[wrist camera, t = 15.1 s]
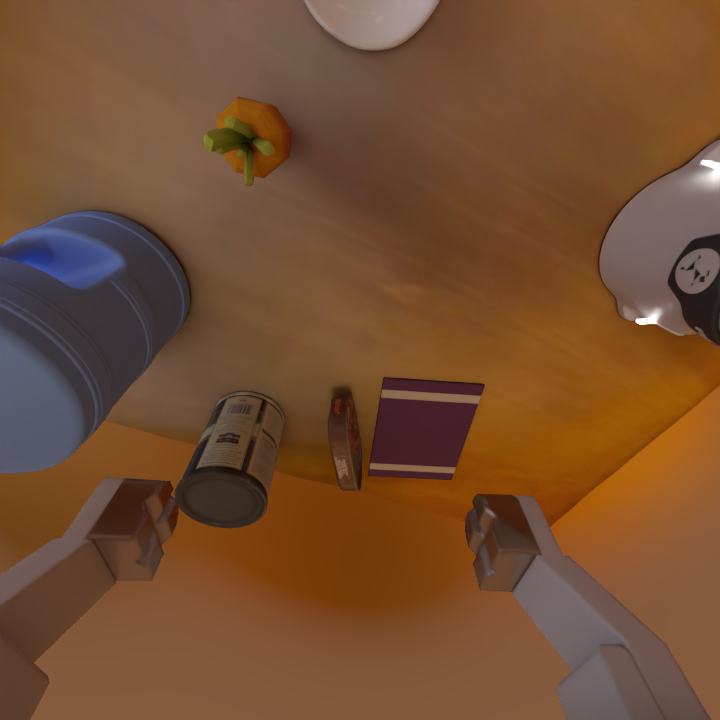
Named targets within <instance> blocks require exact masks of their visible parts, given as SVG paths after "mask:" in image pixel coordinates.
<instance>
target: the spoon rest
mask: <svg viewBox="0 0 720 720" xmlns="http://www.w3.org/2000/svg"><path fill="white" fill-rule="evenodd" d="M303 1H304V2H305V4H306V6H307V8H308V10H309V11H310V13H311V14H312V16H313V17H314V18H315V20H316V21H317V22H318V23H319V24H320V25H321V26H322V27H323V28H324V29H325V30H326V31H327V32H328V33H329V34H331V35H332V36H333V37H335V38H336V39H338V40H339V41H341V42H343V43H345V44H346V45H348V46H351V47H354V48H356V49H361V50H367V51H379V50H387V49H391V48H394V47H396V46H398V45H400V44H402V43H404V42H405V41H407V40H408V39H410V38H411V37H412V36H413V35H414V34H415V33H416V32H417V31H418V30H419V29H420V28H421V27H422V26H423V25H424V24H425V23H426V21H427V20H428V19H429V17H430V16H431V15H432V13H433V12H434V10H435V8H436V7H437V5H438V4H439V2H440V0H303Z"/></svg>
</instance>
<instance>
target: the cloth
mask: <svg viewBox="0 0 720 720" xmlns="http://www.w3.org/2000/svg"><path fill="white" fill-rule="evenodd" d="M483 389H484V384H475V383H460V382H445V381H430V380H415V379H400V378H385V377H384V378H383V384H382V391H381V397H380V403H379V410H378V416H377V422H376V428H375V435H374V441H373V447H372V454H371V460H370V466H369V472H368V476H380V477H401V478H421V479H441V480H451V479H452V476H453V474H454V472H455V469H456V465H457V462H458V459H459V457H460V454H461V451H462V448H463V445H464V443H465V440H466V437H467V434H468V431H469V428H470V426H471V423H472V420H473V417H474V414H475V411H476V409H477V406H478V404H479V401H480V398H481V395H482V392H483Z"/></svg>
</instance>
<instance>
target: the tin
mask: <svg viewBox="0 0 720 720" xmlns="http://www.w3.org/2000/svg"><path fill="white" fill-rule="evenodd" d="M331 402H332V403H331V409H330V414H329V418H328V438H329V446H330V451H331V455H332V460H333V464H334V468H335V472H336V476H337V480H338V484H339V487H340V489H341V490H345V491H348V490H349V491H351V490H357V491H360V488H361V481H362V451H361V442H360V436H359V430H358V424H357V418H356V412H355V406H354V401H353V398H352V397H351V396H348V397H336V398H333V399H332V401H331Z"/></svg>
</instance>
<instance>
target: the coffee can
mask: <svg viewBox="0 0 720 720" xmlns="http://www.w3.org/2000/svg"><path fill="white" fill-rule="evenodd" d="M284 424H285V419H284V415H283V412H282V410H281V409H280V407H279V406H278V405H277V404H276V403H275V402H273V401H272V400H271V399H269V398H268V397H266V396H264V395H261V394H258V393H253V392H235V393H231V394H228V395H226V396H225V397H223V398H222V399H220V400H219V401H218V403H217V404H216V406H215V408H214V412H213V414H212V416H211V418H210V420H209V423H208V425H207V427H206V429H205V431H204V433H203V435H202V437H201V440H200V442H199V444H198V446H197V448H196V450H195V452H194V454H193V456H192V459H191V461H190V463H189V465H188V467H187V470H186V471H185V474H184V476H183V478H182V480H180V482H179V483H178V485H177V487H176V490H175V499H176V500H177V503H178V507H179V508H180V509H181V510H182V511H183V512H184V513H185V514H186V515H188V516H189V517H190V518H192V519H194V520H196V521H198V522H200V523H203V524H206V525H210V526H214V527H221V528H237V527H243V526H247V525H250V524H252V523H254V522H256V521H258V520H259V519H260V518H261V517H262V516H263V515H264V514H265V512H266V509H267V501H268V494H269V490H270V485H271V480H272V476H273V471H274V467H275V462H276V458H277V453H278V449H279V444H280V440H281V435H282V431H283V428H284Z"/></svg>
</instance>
